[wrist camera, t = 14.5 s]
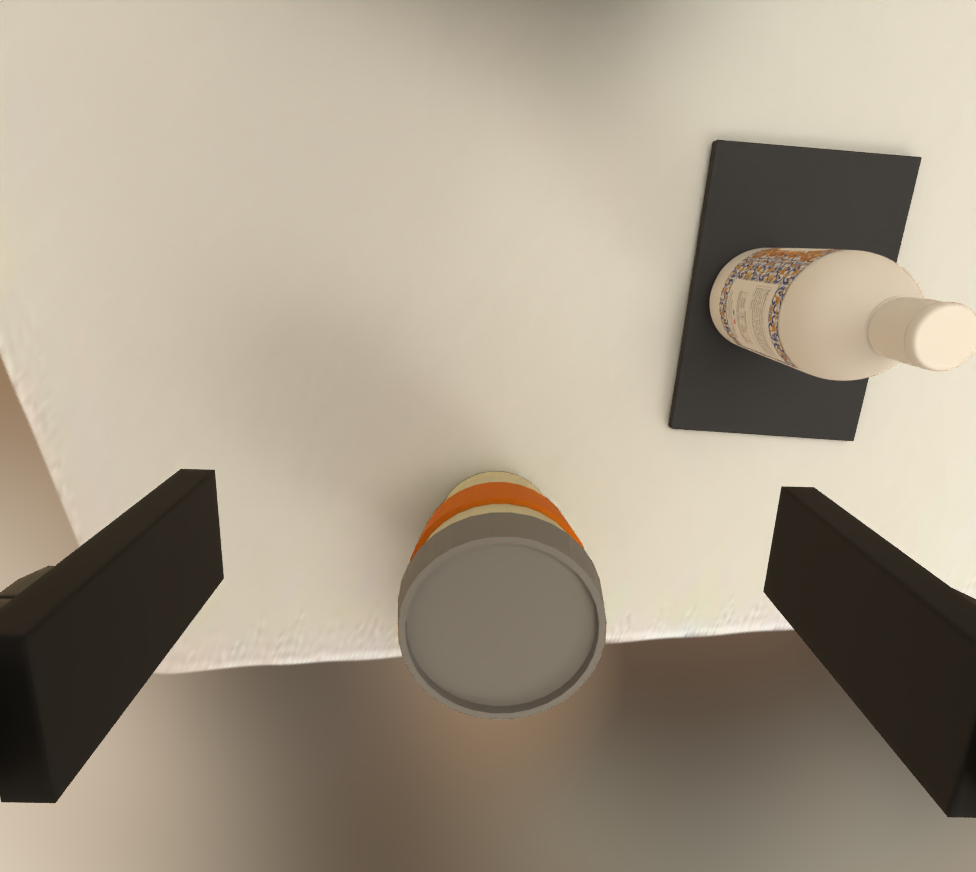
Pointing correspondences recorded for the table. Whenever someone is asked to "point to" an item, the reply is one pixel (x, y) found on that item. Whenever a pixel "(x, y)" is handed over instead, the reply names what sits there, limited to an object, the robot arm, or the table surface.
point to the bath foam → (837, 313)
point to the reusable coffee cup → (500, 602)
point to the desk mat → (781, 224)
